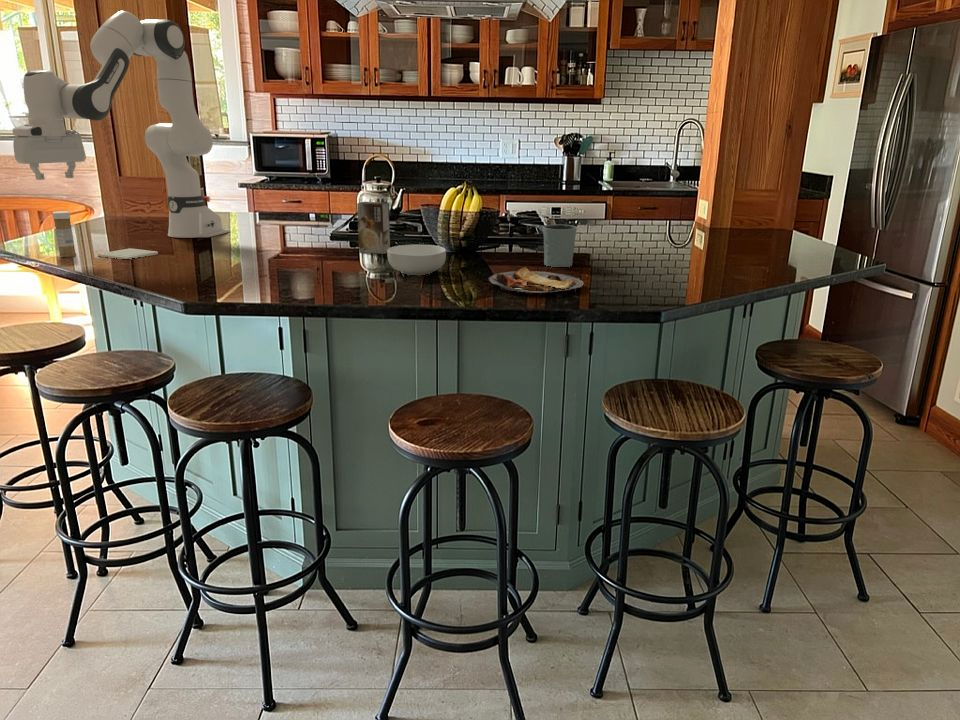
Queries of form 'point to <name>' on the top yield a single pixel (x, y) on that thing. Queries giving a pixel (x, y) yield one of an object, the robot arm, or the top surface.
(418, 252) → the cereal bowl
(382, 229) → the coffee box
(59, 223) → the sprinkles bottle
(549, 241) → the grey tapered cup
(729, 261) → the top surface
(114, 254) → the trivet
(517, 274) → the food plate
